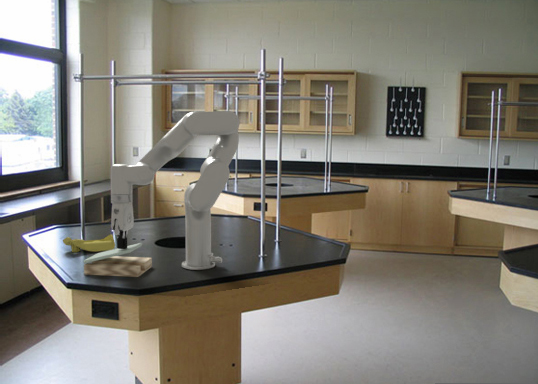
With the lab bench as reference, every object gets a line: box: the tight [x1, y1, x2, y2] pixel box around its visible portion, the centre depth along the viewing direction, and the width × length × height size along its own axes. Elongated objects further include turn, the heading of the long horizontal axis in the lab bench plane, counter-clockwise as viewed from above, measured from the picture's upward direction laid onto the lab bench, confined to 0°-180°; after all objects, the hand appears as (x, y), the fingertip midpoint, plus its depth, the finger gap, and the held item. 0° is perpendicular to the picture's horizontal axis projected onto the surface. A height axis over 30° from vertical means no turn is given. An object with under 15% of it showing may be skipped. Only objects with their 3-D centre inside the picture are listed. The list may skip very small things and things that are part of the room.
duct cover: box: [83, 242, 143, 264], centre depth 198 cm, size 18×12×1 cm, turn 82°
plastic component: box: [62, 234, 116, 253], centre depth 230 cm, size 20×7×10 cm
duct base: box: [83, 255, 153, 278], centre depth 199 cm, size 20×14×4 cm
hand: (122, 248), depth 198 cm, fingers closed
